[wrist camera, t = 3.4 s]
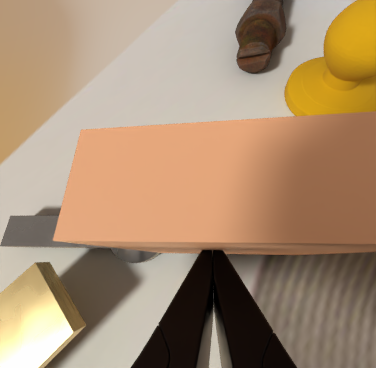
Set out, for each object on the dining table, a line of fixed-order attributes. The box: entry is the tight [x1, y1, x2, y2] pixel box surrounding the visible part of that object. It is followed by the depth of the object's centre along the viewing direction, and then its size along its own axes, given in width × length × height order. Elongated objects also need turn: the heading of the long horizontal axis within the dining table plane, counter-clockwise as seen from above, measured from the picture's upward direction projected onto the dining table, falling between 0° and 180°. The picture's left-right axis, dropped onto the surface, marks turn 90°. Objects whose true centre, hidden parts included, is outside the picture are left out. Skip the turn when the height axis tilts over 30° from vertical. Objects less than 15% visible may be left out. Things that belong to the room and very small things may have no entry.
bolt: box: [235, 0, 286, 73], centre depth 21 cm, size 6×5×15 cm
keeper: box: [0, 262, 86, 368], centre depth 13 cm, size 9×5×4 cm, turn 134°
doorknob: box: [285, 0, 376, 116], centre depth 15 cm, size 8×8×8 cm
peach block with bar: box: [0, 111, 376, 263], centre depth 10 cm, size 4×22×11 cm, turn 89°
